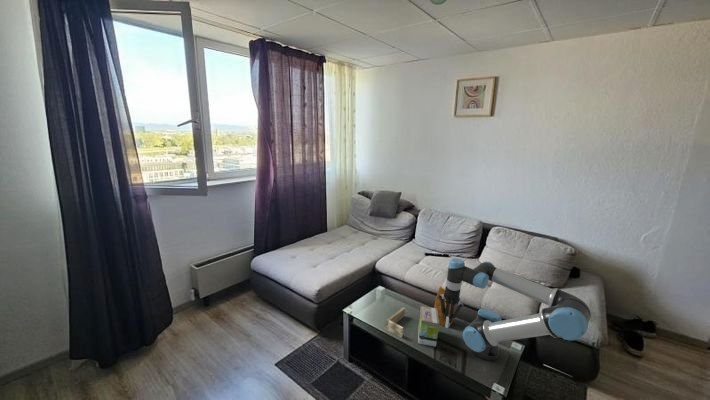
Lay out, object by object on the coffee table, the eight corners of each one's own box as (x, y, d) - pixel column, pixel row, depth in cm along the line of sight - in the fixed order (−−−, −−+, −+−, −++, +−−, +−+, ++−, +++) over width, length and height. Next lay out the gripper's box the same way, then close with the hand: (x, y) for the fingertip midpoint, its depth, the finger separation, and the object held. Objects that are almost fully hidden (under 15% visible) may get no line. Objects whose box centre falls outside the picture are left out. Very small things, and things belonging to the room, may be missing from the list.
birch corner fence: (417, 322, 178) (418, 314, 176) (401, 337, 163) (401, 328, 162) (402, 315, 184) (402, 307, 183) (385, 329, 170) (386, 320, 169)
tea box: (436, 347, 157) (439, 323, 154) (418, 343, 159) (420, 320, 156) (434, 330, 172) (437, 308, 169) (417, 327, 174) (420, 305, 171)
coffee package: (437, 313, 189) (441, 282, 184) (455, 322, 180) (460, 290, 175) (429, 319, 182) (433, 287, 177) (447, 329, 173) (452, 296, 169)
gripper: (468, 289, 150) (461, 329, 155) (444, 280, 158) (438, 318, 163) (462, 294, 144) (456, 335, 149) (438, 285, 152) (433, 324, 158)
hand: (447, 326), depth 156 cm, fingers closed
